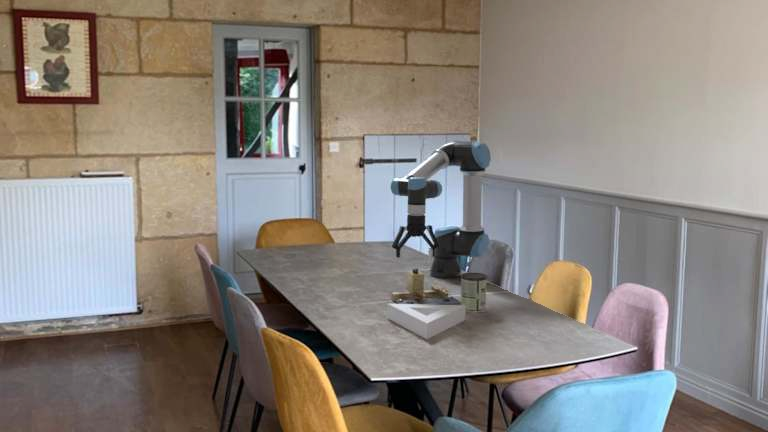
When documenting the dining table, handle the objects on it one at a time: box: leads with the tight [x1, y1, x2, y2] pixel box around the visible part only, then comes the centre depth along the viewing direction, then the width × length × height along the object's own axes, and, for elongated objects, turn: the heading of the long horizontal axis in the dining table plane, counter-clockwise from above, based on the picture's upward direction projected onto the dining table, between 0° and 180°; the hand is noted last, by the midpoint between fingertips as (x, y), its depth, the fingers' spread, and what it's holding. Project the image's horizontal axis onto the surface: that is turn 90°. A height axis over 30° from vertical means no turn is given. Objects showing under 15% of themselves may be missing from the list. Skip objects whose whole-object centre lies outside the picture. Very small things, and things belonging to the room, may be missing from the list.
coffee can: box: [460, 272, 488, 314], centre depth 315 cm, size 10×10×14 cm
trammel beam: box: [390, 285, 449, 302], centre depth 328 cm, size 24×14×4 cm, turn 107°
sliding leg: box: [406, 267, 426, 301], centre depth 327 cm, size 5×15×11 cm, turn 17°
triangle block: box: [386, 303, 466, 340], centre depth 295 cm, size 30×26×6 cm
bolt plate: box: [395, 295, 461, 305], centre depth 322 cm, size 25×10×2 cm, turn 107°
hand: (415, 264), depth 329 cm, fingers open, 13 cm apart
